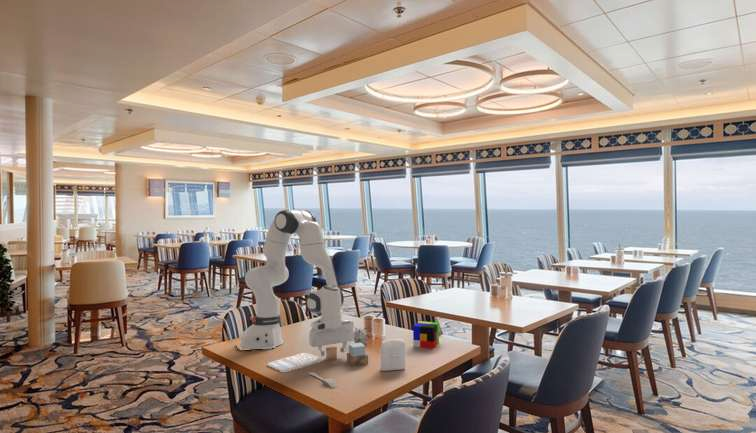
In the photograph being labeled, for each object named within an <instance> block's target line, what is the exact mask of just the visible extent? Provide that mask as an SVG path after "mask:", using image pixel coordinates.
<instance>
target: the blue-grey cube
mask: <svg viewBox="0 0 756 433" xmlns="http://www.w3.org/2000/svg"><path fill="white" fill-rule="evenodd" d="M348 353H349V354H350V355H351V356H353V357H357V356H364V355H365V353H366V344H365V345H364V344H362V343H361V342H360V343H355V342H354V343H349V344H348Z"/></svg>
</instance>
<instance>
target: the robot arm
mask: <svg viewBox="0 0 756 433" xmlns="http://www.w3.org/2000/svg"><path fill="white" fill-rule="evenodd" d="M293 234H296V235H297V236H298V238H299V239H298V240H299V246H300V247H299V248H300V254H301V258H302V259H303V261H305V262H306V263H308V264H309V265H311V266H315V267H317V268H319V269H320V270H321V271H322V273H323V275H324V279H325V283H326V284H325V285H323V286H322V287H321V288H320V289H317V290H316V291H312V292H309V294H308V295H307V298H306V302H305V303H306V307H307V310H308V311H310V312H311V313H314V314H319V313H321V317H320V318H319V319H316V320H314V321H312V322H311V323H310V325H311V329H310V330H309V334H308V343H309V345H310V346H311V347H312V348H316V347H317V349H318V351H319V356H321V357H323V356H325V351H324V350H322V348H323V346H331V345H335V344H340V343H341V344H342V345H341V347H340V348H339V352H340V353H342V354H343V353H345V348H346V347H347V344H348V342H353V341H354V332H355V330H354V328H355V327H354V321H352V320H351V319H350V320H349V319H347V320H343V319H342V317H343V314H342V311H341V308H342V306H343V304H344V301H345V297H344V293H343V291H342V289H341V286H340V282H339V279H338V275H337V272H336V268H335V264H334V261H333V258H332V257H331V256H330V255H329V254H328V252H327V250H326V249H327V248H326V246H325V240H324V235H323V232H322V228H321V225H320V224H319V223H318V222H317V218H316V215H315V213H313V212H312V211H309V210H302V209H283V210H280V211H279V212H277V213H276V214H275V217H274V219H272V222H271V224H270V225H269V228H268V231H267V233H266V238H265V240H264V244H263V248H262V254H263V256H264V257H265V260H266V262H265V265H260V266H255V267H252V268H251V269H249V270H247V271H246V272H245V276H244V282H245V285H246V286H247V288H249V289H250V290H251V291H252V293H253V296H254V297H255V303H256V304H255V306H256V307H255V308H256V315H255V316H254V315H251V316H250V318H249V319H250V320H251V322H252V324H251V325H250V326H248V327H247V328H246V329H245V330H243V332H242V333H241V335H240V341H239V342H240V347H242V350H244V349H263V350H272V348H274V349H276V348H277V347H279V346H281V345H282V344H284V340H283V336H282V332H281V324H282V318H281V317H282V316H281V314H280V298H279V297H278V296H277V295H275V292H274V290H273V287H276V286H280V285H282V284H284V283H285V282H286V281H288V279H289V276H290V273H289V269H288V267H287V266H286V253H287V250H288V246H289V243H290V238H291V235H293ZM276 346H277V347H276ZM238 347H239V346H238ZM240 347H239V349H240ZM275 347H276V348H275Z"/></svg>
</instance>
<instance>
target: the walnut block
mask: <svg viewBox="0 0 756 433" xmlns="http://www.w3.org/2000/svg"><path fill="white" fill-rule="evenodd" d="M346 362H347V363H348V364H349V365H351V367H357V366H364V365H368V364H369V354H368V353H366V352H365V355H364V356H357V357H353V356H351V355H350V354H349V352H347V353H346Z"/></svg>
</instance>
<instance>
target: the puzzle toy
mask: <svg viewBox="0 0 756 433" xmlns="http://www.w3.org/2000/svg"><path fill="white" fill-rule="evenodd" d="M439 324H440V322H433V321H422V320H419V321H417V322H415V324H414V325H413V326H412V330H413V331H412V332H413V334H412V336H413V338H412V339H413V341H412V342H413V348H421V347H422V349H431V348H434V349H435V348H436V347H437V346H438V345H439V344H440V325H439ZM437 344H438V345H437ZM436 345H437V346H436Z"/></svg>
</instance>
